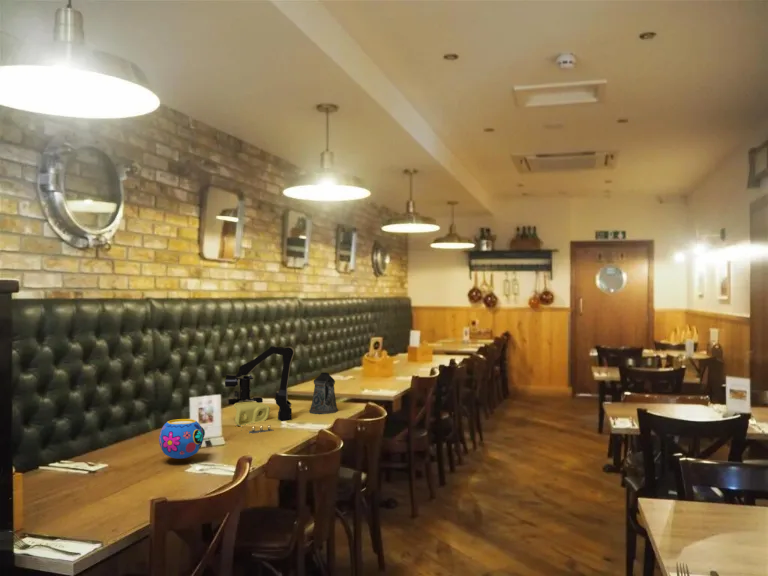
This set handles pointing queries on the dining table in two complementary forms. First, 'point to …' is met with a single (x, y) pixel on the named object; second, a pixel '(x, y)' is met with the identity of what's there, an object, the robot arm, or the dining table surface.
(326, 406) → the beer stein
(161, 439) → the ceramic pot
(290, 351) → the robot arm
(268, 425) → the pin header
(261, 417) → the plastic component
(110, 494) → the dining table surface
